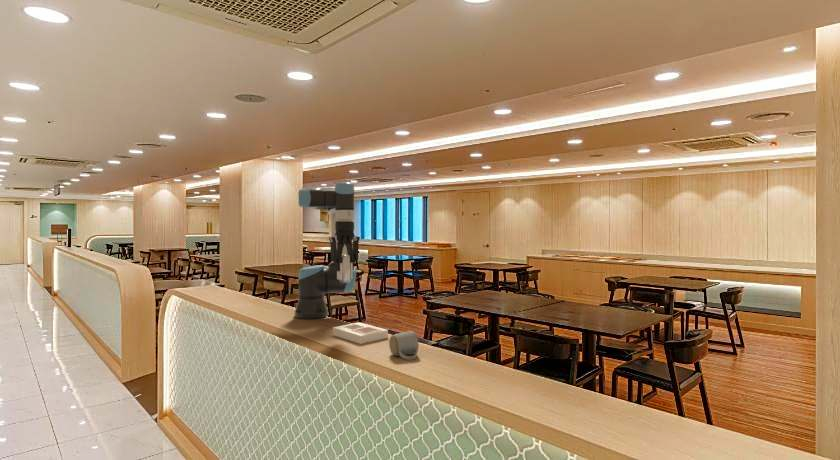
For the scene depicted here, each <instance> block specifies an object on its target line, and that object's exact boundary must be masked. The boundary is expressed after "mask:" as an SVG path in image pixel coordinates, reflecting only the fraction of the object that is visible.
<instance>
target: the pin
mask: <svg viewBox="0 0 840 460" xmlns="http://www.w3.org/2000/svg"><path fill="white" fill-rule="evenodd" d="M340 263H342V280H339V283H350V255H342V257H341V262H340Z"/></svg>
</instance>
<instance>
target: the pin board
mask: <svg viewBox="0 0 840 460" xmlns="http://www.w3.org/2000/svg"><path fill="white" fill-rule="evenodd" d="M353 324H354V325H353ZM361 326H362V327H361ZM332 336H333V337H338V338H341V339H343V340H348V341H349V342H350V341H351V342H353V343H356V344H359V345H362V344H367V342H368V343H372V342H376V341H379V340H385V339H388V338H389V329H387V328H386V329H385V328H382V327H378V326H374V325H372V324H367V323H364V322H353V323H349V324H343V325H339V326H334V327H333V326H332Z"/></svg>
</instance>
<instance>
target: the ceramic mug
mask: <svg viewBox="0 0 840 460" xmlns="http://www.w3.org/2000/svg"><path fill="white" fill-rule="evenodd" d="M388 343H389V344H388V345H389V346H388V347H389V350H390V352H391V354H392V355H393V356H395V357H401V358H402V359H403V360H406V361H413V360H415V359H416V358H417V357H418V352H419V345H420V344H419V338H418V337H417V334H416V332H415V331H414V330H409V331H404V332H399V333H394V334H392V335H391V336H390V337H389V342H388ZM409 355H410V356H409Z"/></svg>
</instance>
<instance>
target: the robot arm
mask: <svg viewBox="0 0 840 460" xmlns="http://www.w3.org/2000/svg"><path fill="white" fill-rule="evenodd" d="M298 206H299V207H301V208H310V209H312V210H313V209H314V210H319V211H321V210H322V211H327V214H328V215H329V216H330V217H331V218H330V219H331V221H330V227H331V228H330V230H331V233H330V235H331V236H330V237H328V239H329V243H330V244H329V245H330V261H331V262H330V263H329V264H328V268H327V267H325V266H324V265H323V264H320V265H318V264H317V265H309V266H305V267H303V268H301V269H299V271H298V279H297V280H298V301H297V304H296V307H295V310H294V317H295V318H297V319H301V320H302V319H303V320H305V319H306V320H314V319H322V318H325V317H328V315H329V310H328V307H327V304H326V300H325V294H334V293H335V294H336V293H338V294H339V293H344V294H345V293H351V292H353V291H354V289H355V285H356V280H357V268H356V267H355V263H356V262H357V261H359V249H360V248H359V247H360V246H359V243H360V242H359V241H360V240H361V239H360V238H361V237H360V236H357V235H355V233H354V232H355V231H354V230H355V221H354V220H355V184H354V183H353V182H344V181H343V182H336V183H335V186H317V187H312V188H302V189H299V190H298ZM342 255H350V283H339V280H342V263H340V262H341V257H342ZM324 316H325V317H324Z"/></svg>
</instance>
